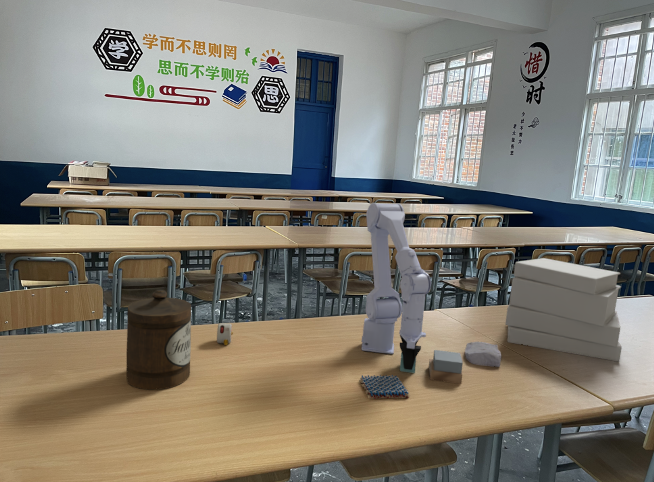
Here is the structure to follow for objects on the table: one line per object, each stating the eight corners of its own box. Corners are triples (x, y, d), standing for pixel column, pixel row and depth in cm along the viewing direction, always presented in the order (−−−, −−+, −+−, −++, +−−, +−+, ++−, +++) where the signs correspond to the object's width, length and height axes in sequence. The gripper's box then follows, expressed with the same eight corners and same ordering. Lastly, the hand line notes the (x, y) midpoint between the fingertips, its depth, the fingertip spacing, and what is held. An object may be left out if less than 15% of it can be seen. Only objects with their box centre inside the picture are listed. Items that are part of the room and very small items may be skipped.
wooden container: (186, 389, 113) (187, 299, 110) (119, 390, 111) (119, 298, 107) (193, 363, 128) (194, 283, 124) (134, 364, 125) (134, 281, 122)
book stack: (627, 368, 144) (641, 284, 140) (503, 346, 156) (513, 268, 152) (608, 336, 172) (619, 266, 168) (504, 320, 184) (512, 253, 180)
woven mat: (396, 380, 126) (397, 373, 126) (410, 400, 116) (411, 392, 116) (358, 381, 124) (358, 374, 124) (368, 401, 114) (369, 393, 114)
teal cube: (399, 371, 131) (401, 357, 131) (400, 365, 135) (401, 352, 135) (414, 373, 131) (416, 359, 130) (414, 367, 135) (415, 353, 134)
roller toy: (233, 338, 147) (233, 320, 146) (231, 346, 141) (232, 327, 140) (218, 338, 146) (218, 320, 145) (216, 346, 140) (216, 327, 139)
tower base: (430, 381, 127) (431, 370, 127) (428, 369, 135) (429, 359, 135) (461, 385, 126) (462, 374, 126) (457, 372, 134) (458, 362, 133)
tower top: (434, 370, 127) (435, 359, 127) (433, 360, 134) (434, 349, 133) (461, 373, 126) (462, 362, 126) (459, 363, 133) (460, 352, 132)
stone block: (467, 370, 140) (503, 368, 138) (465, 354, 139) (502, 351, 137) (464, 356, 151) (497, 354, 149) (462, 341, 151) (496, 339, 149)
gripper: (428, 326, 123) (423, 376, 125) (426, 310, 137) (421, 355, 139) (400, 323, 124) (396, 373, 126) (401, 307, 138) (397, 352, 140)
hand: (407, 364), depth 133 cm, fingers open, 6 cm apart
